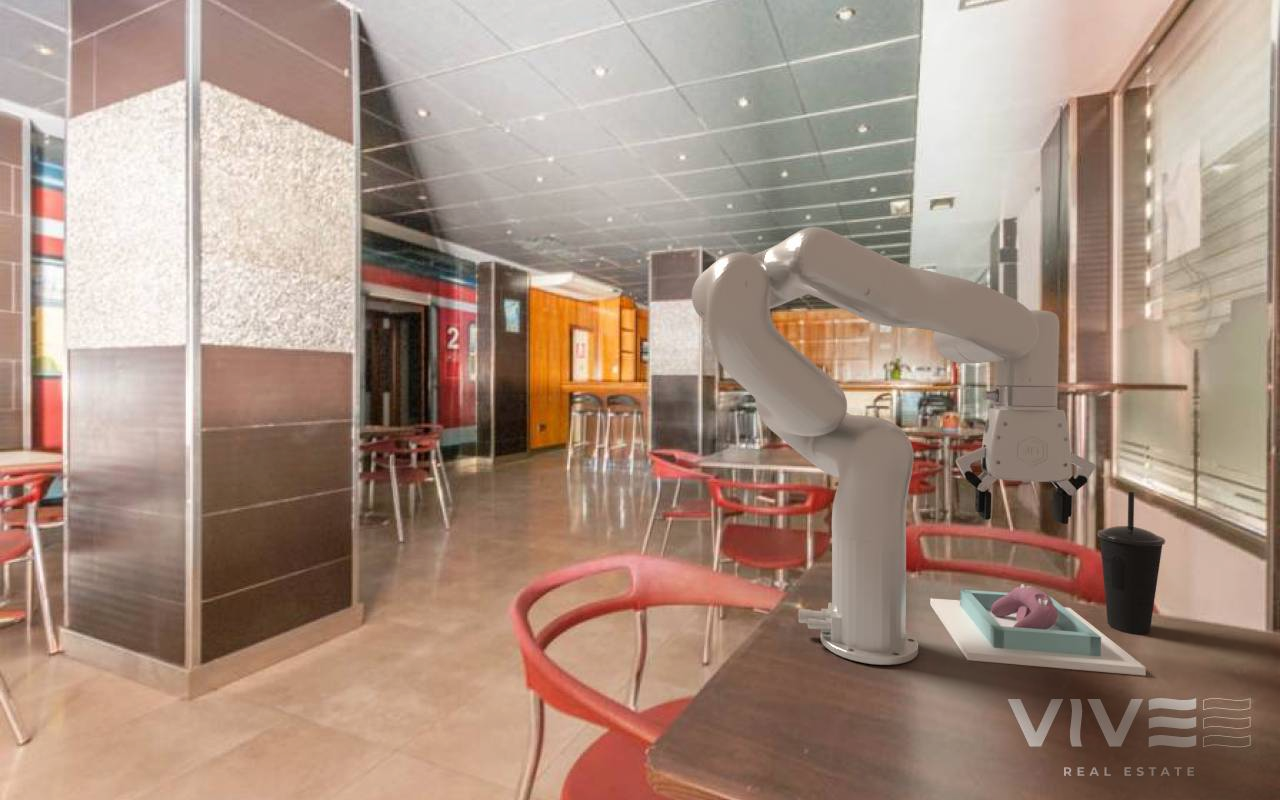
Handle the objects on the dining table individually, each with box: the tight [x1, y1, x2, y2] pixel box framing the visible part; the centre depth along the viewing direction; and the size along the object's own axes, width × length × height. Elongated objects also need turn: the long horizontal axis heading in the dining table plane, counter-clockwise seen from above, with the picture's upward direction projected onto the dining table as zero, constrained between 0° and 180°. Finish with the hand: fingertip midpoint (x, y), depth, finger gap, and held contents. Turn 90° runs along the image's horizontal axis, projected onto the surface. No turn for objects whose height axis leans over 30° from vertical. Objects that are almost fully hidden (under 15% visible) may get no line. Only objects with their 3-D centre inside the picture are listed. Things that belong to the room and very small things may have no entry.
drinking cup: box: [1097, 491, 1166, 635], centre depth 88 cm, size 8×8×20 cm
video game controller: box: [991, 583, 1058, 630], centre depth 86 cm, size 10×5×7 cm, turn 167°
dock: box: [930, 589, 1147, 677], centre depth 86 cm, size 20×20×4 cm
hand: (1021, 519), depth 86 cm, fingers open, 9 cm apart
